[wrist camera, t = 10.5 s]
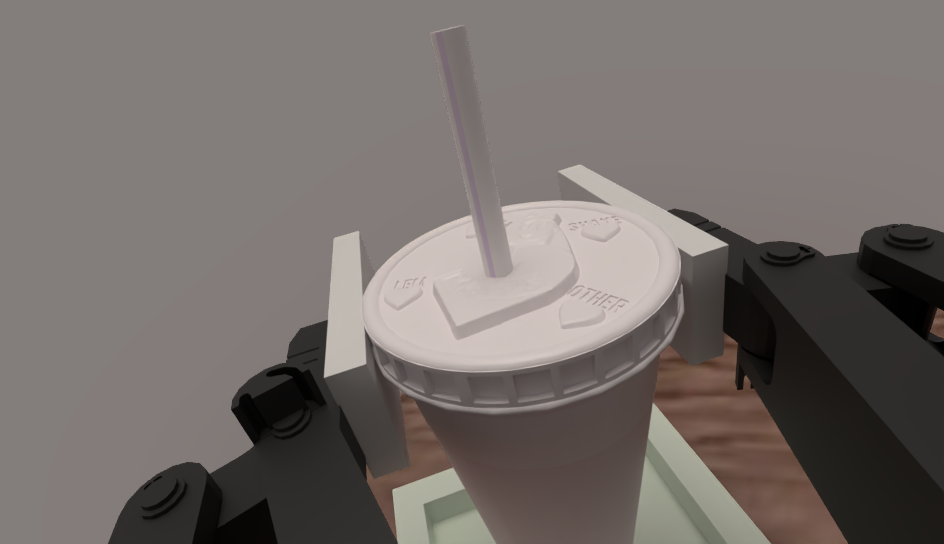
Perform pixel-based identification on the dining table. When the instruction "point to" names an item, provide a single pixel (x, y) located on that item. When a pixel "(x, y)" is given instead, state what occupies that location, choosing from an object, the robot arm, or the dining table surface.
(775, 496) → the dining table surface
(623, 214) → the smoothie
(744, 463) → the dining table surface
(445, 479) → the tray
